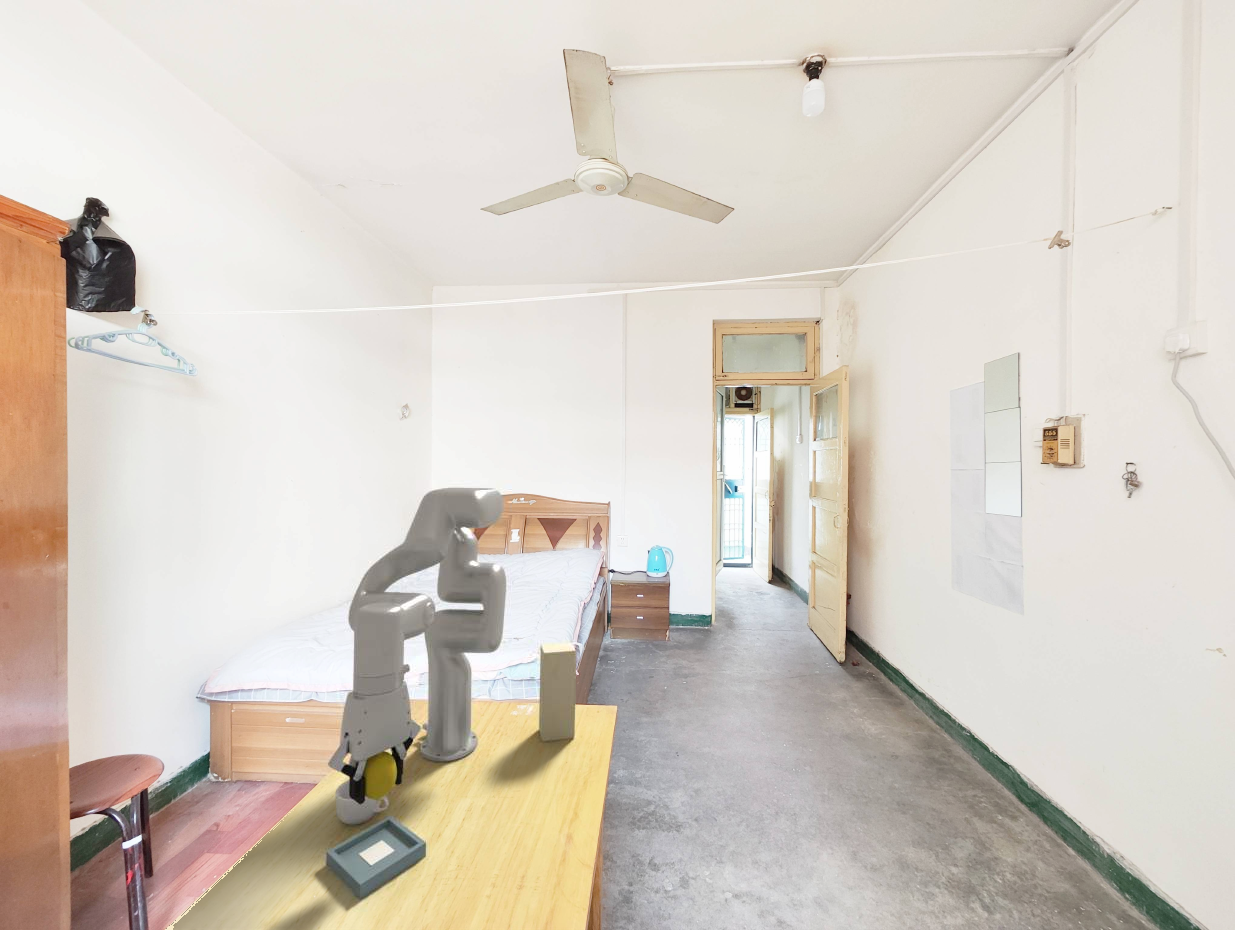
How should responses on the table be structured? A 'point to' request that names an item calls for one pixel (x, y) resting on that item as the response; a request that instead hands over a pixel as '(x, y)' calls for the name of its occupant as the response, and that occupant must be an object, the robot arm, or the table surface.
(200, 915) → the table surface
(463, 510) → the robot arm
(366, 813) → the teacup
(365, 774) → the lemon
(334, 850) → the tray
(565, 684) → the beige rectangular block
